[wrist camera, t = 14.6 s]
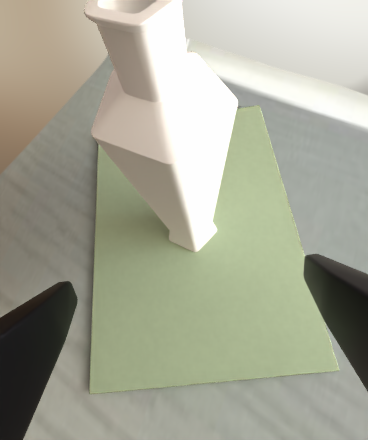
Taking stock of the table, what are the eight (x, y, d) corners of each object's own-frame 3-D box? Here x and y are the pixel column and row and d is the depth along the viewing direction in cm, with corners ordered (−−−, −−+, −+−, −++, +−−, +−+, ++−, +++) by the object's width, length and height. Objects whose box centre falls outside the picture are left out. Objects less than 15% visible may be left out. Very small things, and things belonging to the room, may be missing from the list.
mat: (336, 369, 15) (339, 370, 14) (91, 392, 16) (89, 394, 15) (258, 108, 23) (259, 104, 22) (100, 134, 24) (98, 131, 23)
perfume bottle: (189, 191, 20) (139, -84, 6) (229, 223, 19) (284, -38, 5) (151, 228, 19) (-12, 10, 5) (189, 265, 18) (108, 102, 4)
